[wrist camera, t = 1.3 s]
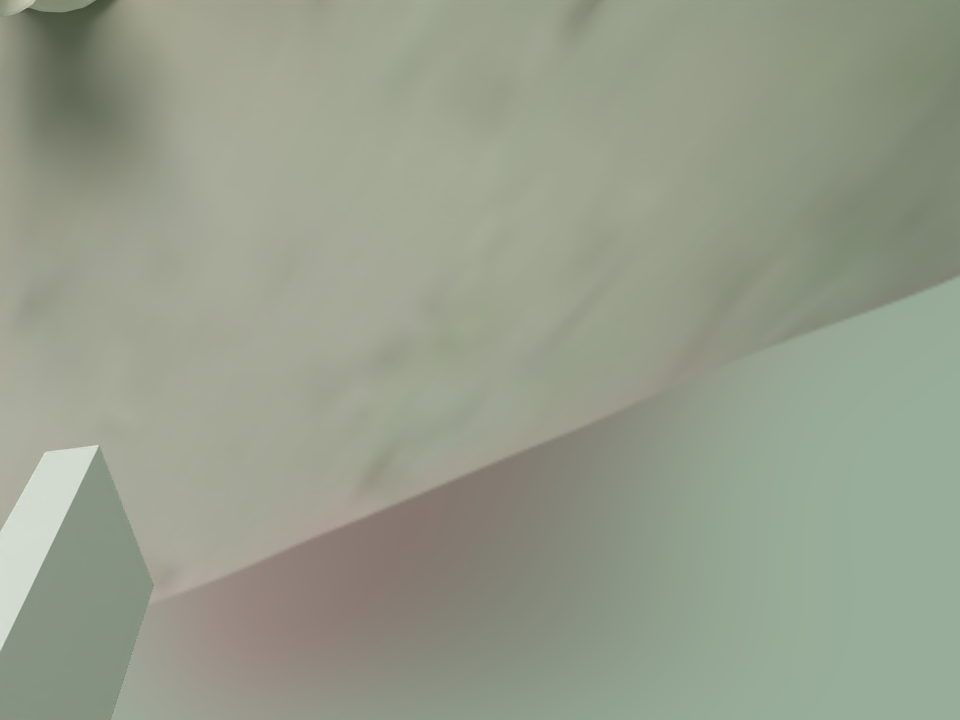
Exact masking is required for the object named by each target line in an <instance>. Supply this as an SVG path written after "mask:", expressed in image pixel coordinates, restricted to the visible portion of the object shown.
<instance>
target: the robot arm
mask: <svg viewBox="0 0 960 720" xmlns="http://www.w3.org/2000/svg"><path fill="white" fill-rule="evenodd" d="M153 586H154V585H153V582H152V579H151V577H150V574H149V572H148V569H147V567H146V564H145V562H144V559H143V556H142V554H141V551H140V549H139V546H138V544H137V541H136V538H135V536H134V533H133V531H132V528H131V526H130V523H129V520H128V518H127V515H126V513H125V510H124V508H123V505H122V502H121V500H120V497H119V495H118V492H117V490H116V487H115V484H114V482H113V479H112V477H111V474H110V472H109V469H108V467H107V464H106V461H105V459H104V456H103V454H102V451H101V449H100V446H99V445H96V446H88V447H80V448H72V449H64V450H56V451H48V452H45V453H44V455H43V457H42V459H41V461H40V462H39V464H38V466H37V468H36V469H35V471H34V473H33V475H32V477H31V478H30V480H29V482H28V484H27V485H26V487H25V489H24V491H23V493H22V494H21V496H20V498H19V500H18V502H17V503H16V505H15V507H14V509H13V510H12V512H11V514H10V516H9V518H8V519H7V521H6V523H5V525H4V527H3V528H2V530H1V532H0V720H111V717H112V714H113V711H114V708H115V705H116V702H117V699H118V695H119V692H120V689H121V686H122V683H123V680H124V677H125V674H126V670H127V667H128V664H129V661H130V658H131V655H132V652H133V649H134V645H135V642H136V639H137V636H138V633H139V630H140V626H141V623H142V620H143V617H144V614H145V611H146V608H147V605H148V602H149V598H150V595H151V592H152V589H153Z"/></svg>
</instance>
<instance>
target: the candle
mask: <svg viewBox="0 0 960 720" xmlns="http://www.w3.org/2000/svg"><path fill="white" fill-rule="evenodd" d="M94 1H96V0H0V18H1V17H5V16H9V15H13V14H18V13H19V12H21V11H23V10H24V9H26V8H32V9H35V10H38V11H42V12H68V11H72V10H76V9H80V8H84V7H86V6H88V5H89V4H91V3H92V2H94Z"/></svg>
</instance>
